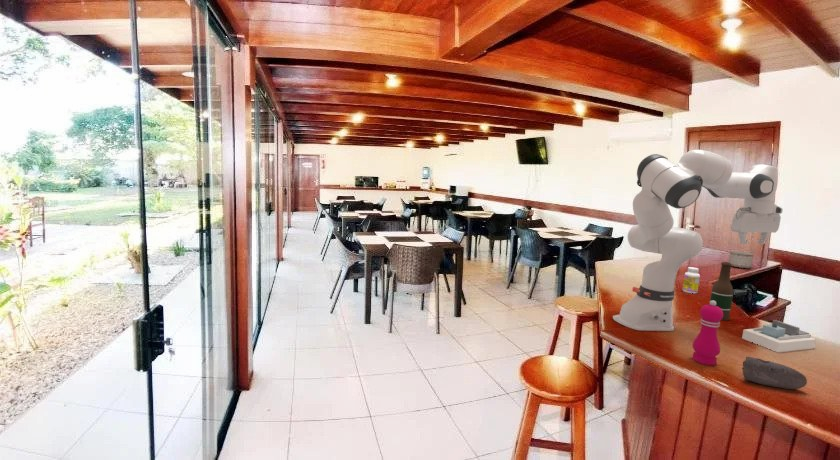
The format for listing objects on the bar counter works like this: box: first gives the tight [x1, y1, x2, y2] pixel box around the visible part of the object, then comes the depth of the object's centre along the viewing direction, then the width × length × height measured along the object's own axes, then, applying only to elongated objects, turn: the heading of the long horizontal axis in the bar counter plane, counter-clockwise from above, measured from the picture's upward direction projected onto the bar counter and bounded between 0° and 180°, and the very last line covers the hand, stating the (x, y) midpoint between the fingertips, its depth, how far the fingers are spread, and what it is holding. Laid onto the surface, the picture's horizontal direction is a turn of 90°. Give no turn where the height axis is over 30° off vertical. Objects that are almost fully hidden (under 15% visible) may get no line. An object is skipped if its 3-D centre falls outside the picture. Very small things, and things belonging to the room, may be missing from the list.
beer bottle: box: [708, 261, 734, 321], centre depth 173 cm, size 8×8×24 cm
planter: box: [728, 250, 754, 269], centre depth 284 cm, size 13×13×10 cm
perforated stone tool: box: [741, 356, 808, 390], centre depth 116 cm, size 15×5×7 cm, turn 63°
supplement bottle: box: [682, 266, 701, 294], centre depth 212 cm, size 7×7×13 cm
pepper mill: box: [692, 300, 723, 366], centre depth 129 cm, size 7×7×20 cm
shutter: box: [777, 320, 810, 336], centre depth 149 cm, size 7×7×3 cm
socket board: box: [741, 326, 817, 353], centre depth 148 cm, size 18×12×4 cm, turn 106°
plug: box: [762, 319, 786, 339], centre depth 147 cm, size 4×4×8 cm
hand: (752, 243), depth 157 cm, fingers open, 8 cm apart
